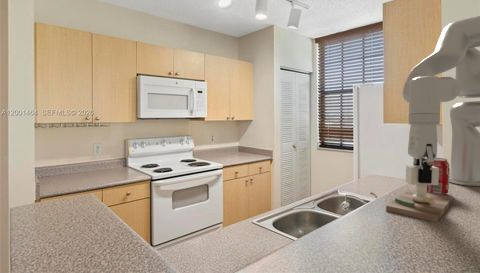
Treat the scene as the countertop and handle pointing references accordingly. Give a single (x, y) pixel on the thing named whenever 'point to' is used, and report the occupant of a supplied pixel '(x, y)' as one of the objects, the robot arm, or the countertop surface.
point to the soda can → (440, 177)
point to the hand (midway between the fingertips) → (421, 180)
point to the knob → (421, 187)
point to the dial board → (420, 206)
